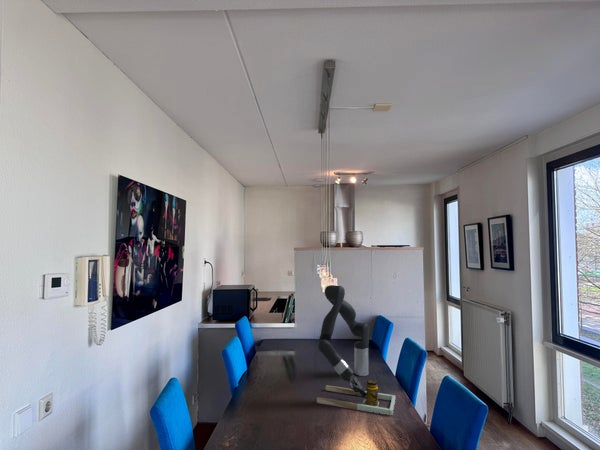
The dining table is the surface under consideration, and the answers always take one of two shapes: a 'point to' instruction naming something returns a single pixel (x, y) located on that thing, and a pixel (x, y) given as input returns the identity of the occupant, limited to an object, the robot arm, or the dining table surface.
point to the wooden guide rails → (338, 402)
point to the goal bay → (379, 409)
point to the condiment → (371, 394)
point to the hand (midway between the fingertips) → (365, 395)
